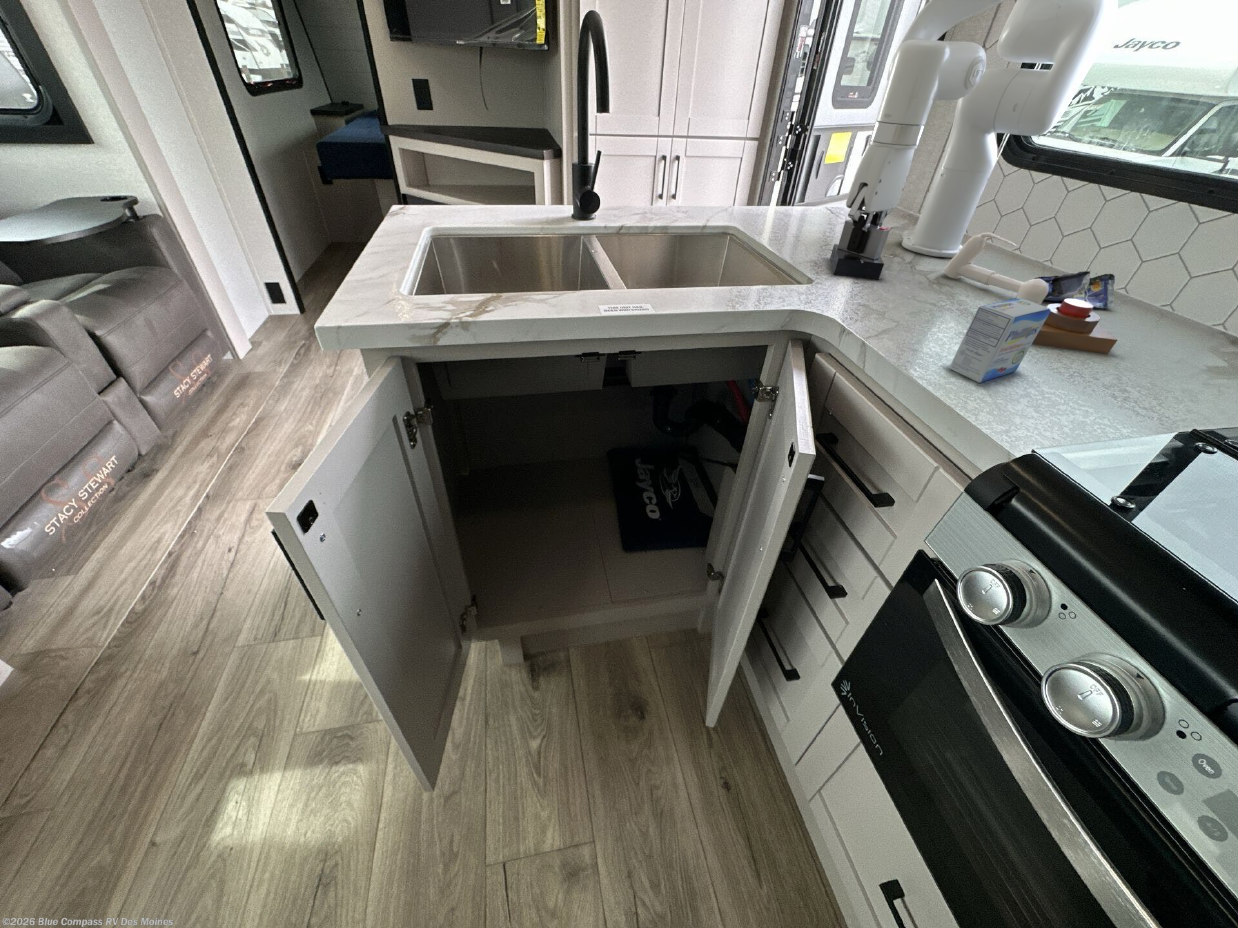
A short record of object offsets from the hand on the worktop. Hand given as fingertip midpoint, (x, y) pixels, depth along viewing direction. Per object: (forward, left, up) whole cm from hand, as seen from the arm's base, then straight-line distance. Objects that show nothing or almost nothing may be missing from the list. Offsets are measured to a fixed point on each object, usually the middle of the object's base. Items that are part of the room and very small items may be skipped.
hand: (858, 250), depth 97 cm
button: (+23, +27, 0) cm, 35 cm away
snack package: (+4, +35, -4) cm, 36 cm away
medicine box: (+39, +12, -4) cm, 41 cm away
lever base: (0, 0, -4) cm, 4 cm away
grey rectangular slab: (0, 0, -1) cm, 1 cm away
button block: (+23, +27, -4) cm, 36 cm away
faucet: (+3, +23, -4) cm, 24 cm away
